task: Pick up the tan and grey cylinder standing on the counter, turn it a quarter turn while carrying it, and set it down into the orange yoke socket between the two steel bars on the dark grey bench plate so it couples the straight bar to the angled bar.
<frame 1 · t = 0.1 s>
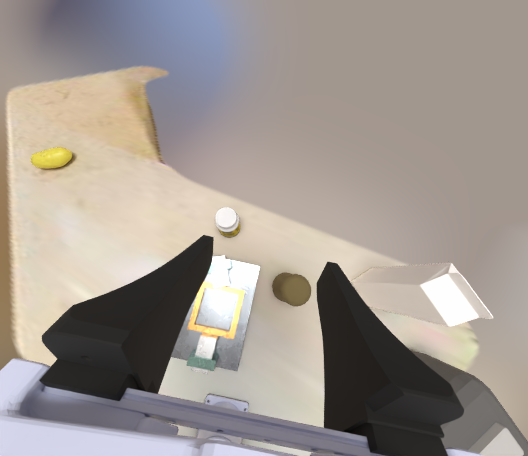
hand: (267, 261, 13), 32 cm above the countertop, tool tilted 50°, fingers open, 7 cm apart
milk: (368, 286, 45), on the countertop
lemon: (60, 163, 47), on the countertop
supplement bottle: (230, 227, 46), on the countertop
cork: (286, 286, 44), on the countertop
bench plate: (218, 307, 42), on the countertop
dark grey rounded block: (398, 391, 40), on the countertop
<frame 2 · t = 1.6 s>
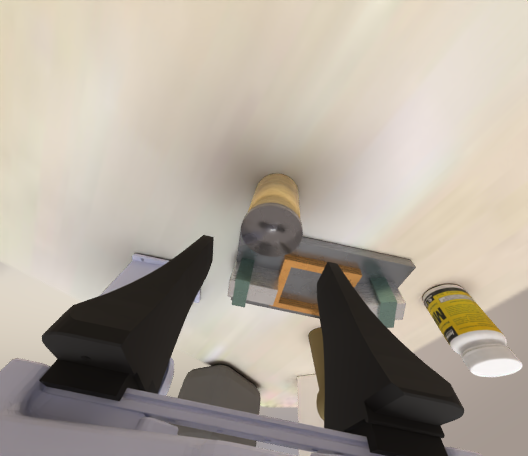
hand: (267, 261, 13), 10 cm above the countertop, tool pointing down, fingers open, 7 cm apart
tan and grey cylinder: (276, 194, 21), on the countertop
milk: (315, 379, 45), on the countertop
supplement bottle: (441, 294, 26), on the countertop
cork: (326, 335, 35), on the countertop
bench plate: (310, 278, 27), on the countertop
dark grey rounded block: (229, 375, 49), on the countertop
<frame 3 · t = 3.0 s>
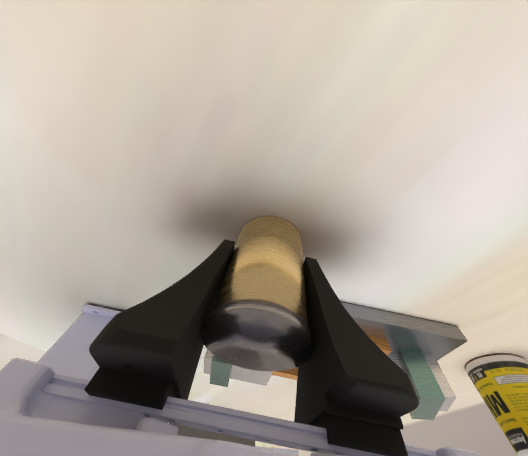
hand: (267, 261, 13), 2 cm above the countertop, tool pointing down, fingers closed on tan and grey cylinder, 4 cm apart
tan and grey cylinder: (270, 242, 14), on the countertop, touching gripper
supplement bottle: (491, 362, 20), on the countertop
bench plate: (316, 339, 20), on the countertop
dark grey rounded block: (219, 419, 43), on the countertop
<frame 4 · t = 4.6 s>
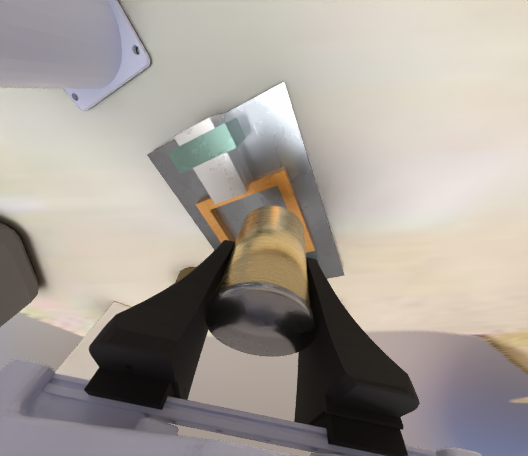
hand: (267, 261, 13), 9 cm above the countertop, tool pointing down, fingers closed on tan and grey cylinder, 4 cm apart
tan and grey cylinder: (272, 233, 14), point 7 cm above the countertop, touching gripper
milk: (131, 314, 37), on the countertop
bench plate: (260, 217, 22), on the countertop
dark grey rounded block: (3, 248, 30), on the countertop
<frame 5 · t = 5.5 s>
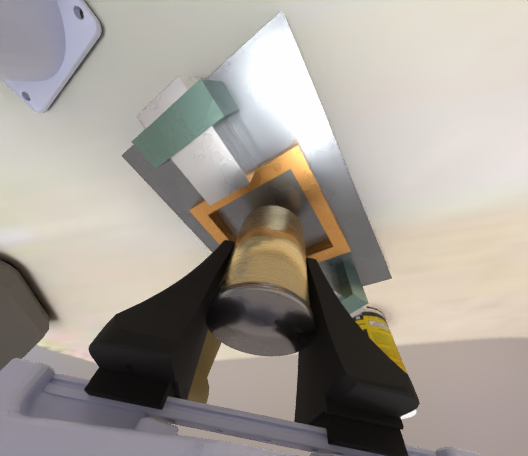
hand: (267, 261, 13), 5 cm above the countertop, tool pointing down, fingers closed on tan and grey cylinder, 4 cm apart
tan and grey cylinder: (272, 233, 14), point 3 cm above the countertop, touching gripper
supplement bottle: (361, 317, 24), on the countertop
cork: (212, 300, 25), on the countertop
bench plate: (273, 216, 17), on the countertop
dark grey rounded block: (8, 284, 29), on the countertop
when the fingers open (4 cm above the countertop, at t = 6.3 s): tan and grey cylinder stays where it is, resting on bench plate.
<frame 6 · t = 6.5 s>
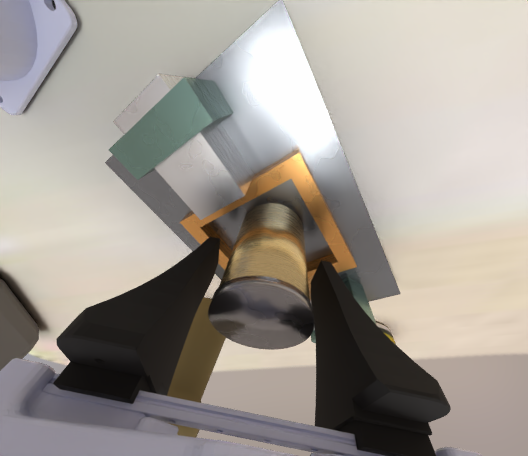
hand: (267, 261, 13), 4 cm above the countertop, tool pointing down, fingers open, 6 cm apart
tan and grey cylinder: (272, 230, 14), point 1 cm above the countertop, touching bench plate
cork: (208, 312, 24), on the countertop
bench plate: (272, 227, 16), on the countertop
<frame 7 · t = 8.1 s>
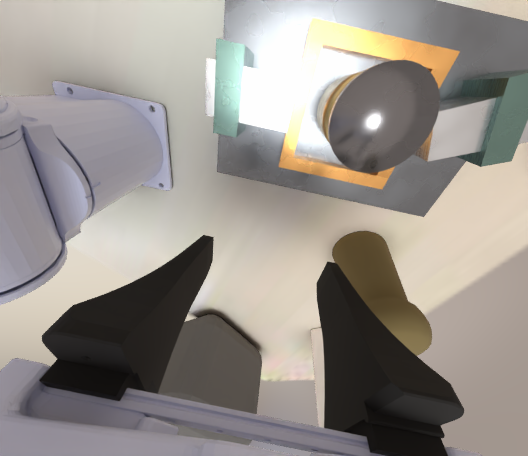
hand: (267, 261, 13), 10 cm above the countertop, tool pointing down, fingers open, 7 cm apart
tan and grey cylinder: (346, 111, 15), point 1 cm above the countertop, touching bench plate
milk: (334, 333, 34), on the countertop
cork: (358, 250, 24), on the countertop
bench plate: (346, 116, 16), on the countertop
dark grey rounded block: (221, 334, 39), on the countertop
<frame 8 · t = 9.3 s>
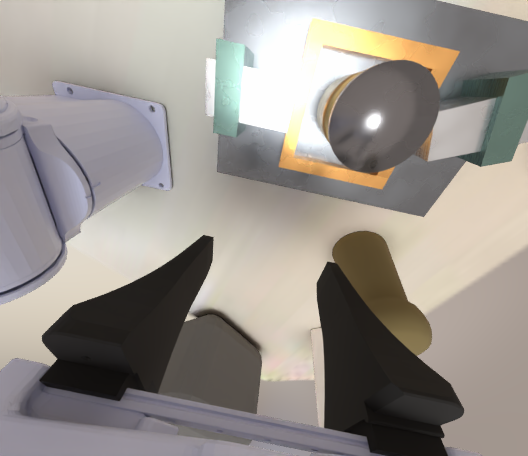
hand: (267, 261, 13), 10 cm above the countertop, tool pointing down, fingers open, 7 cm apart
tan and grey cylinder: (346, 111, 15), point 1 cm above the countertop, touching bench plate
milk: (334, 333, 34), on the countertop
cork: (358, 250, 24), on the countertop
bench plate: (346, 116, 16), on the countertop
dark grey rounded block: (221, 334, 39), on the countertop
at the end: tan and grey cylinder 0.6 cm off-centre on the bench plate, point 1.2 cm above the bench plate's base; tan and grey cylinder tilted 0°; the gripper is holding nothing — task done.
